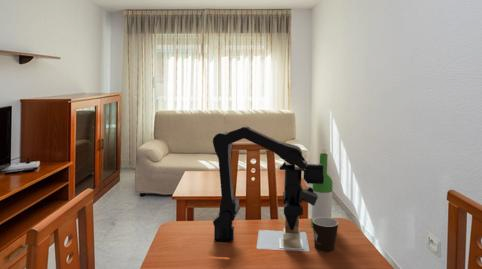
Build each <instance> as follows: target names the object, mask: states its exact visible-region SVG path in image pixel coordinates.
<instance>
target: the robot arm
mask: <svg viewBox="0 0 482 269" xmlns="http://www.w3.org/2000/svg"><path fill="white" fill-rule="evenodd" d="M241 140H247V141H249V142H251V143H253V144H255V145H258V146H259V147H262V148H263V149H266V150H268V151H270V152H272V153H274V154H275V155H277V156H278V157H279V158H280V159H282V161H284V162H283V163H282V164H281V165H280V166H279V168H278V169H279V171H284V185H283V186H284V191H283V192H282V202H283V215H284V217H286V220H287V222H288V225H289V227H290V230H294V227H295V223H296V220H297V217H298V218H299V217H300V216H303V215H304V208H303V205H302V204H301V203H303V202H305V203H307V204H310V205H311V206H312V205H315V203H316V201H317V198H318V196H317V194H316V193H315V192H314V193H313V187H311V186H308V187H307V188H303V186H302V180H303V181H304V182H305V183H306V184H309V185H313V184H323V182H324V174H323V164H320V163H318V164H316V163H314V164H313V163H308V161H307V160H306V159H305V157H304V156H303V151H302V149H301V148H300V147H299V146H298V145H295V144H291V143H287V142H282V141H279V140H276V139H274V138H273V137H270V136H268V135H266V134H263V133H262V132H259V131H257V130H255V129H252V128H251V127H250V126H247V125H244V126H242V127H240V128H237V129H234V130H231V131H229V132H228V131H226V130H225V131H221V132H219V133H217V134H216V135H214V137H213V139H212V146H213V149H214V152H215V154H216V156H217V159H218V169H219V181H220V192H221V195H220V196H221V199H220V203H219V204H220V205H219V212H218V214H217V215H216V217H215V218H214V220H213V221H212V223H213V224H212V225H213V226H214V234H213V235H214V238H213V242H214V243H232V241H233V240H234V238H235V226H233V222H234V221H235V219H236V217H237V215H238V212H239V211H240V209H241V207H240V204H239V203H240V198H236V197H235V195H234V186H233V175H232V172H233V171H232V163H231V155H232V150H233V144H234V143H236V142H239V141H241ZM302 172H303V175H302ZM302 177H303V178H302Z"/></svg>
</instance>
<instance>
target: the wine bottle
mask: <svg viewBox="0 0 482 269" xmlns="http://www.w3.org/2000/svg"><path fill="white" fill-rule="evenodd" d="M319 164H323V174H324V182H323V184H312V188H313V193H314V192H315V193H316V194H317V196H318V198H317V201H316V203H315V205H311V213H310V214H311V217H310V218H311V219H310V222H311V223H310V225H311V227H312V228H313V219H314V218H318V217H327V218H332V210H333V207H332V206H333V205H332V204H333V186H334V185H333V180H332V178H331V176H330V175H329V174H328V153H323V152H322V153H319Z"/></svg>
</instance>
